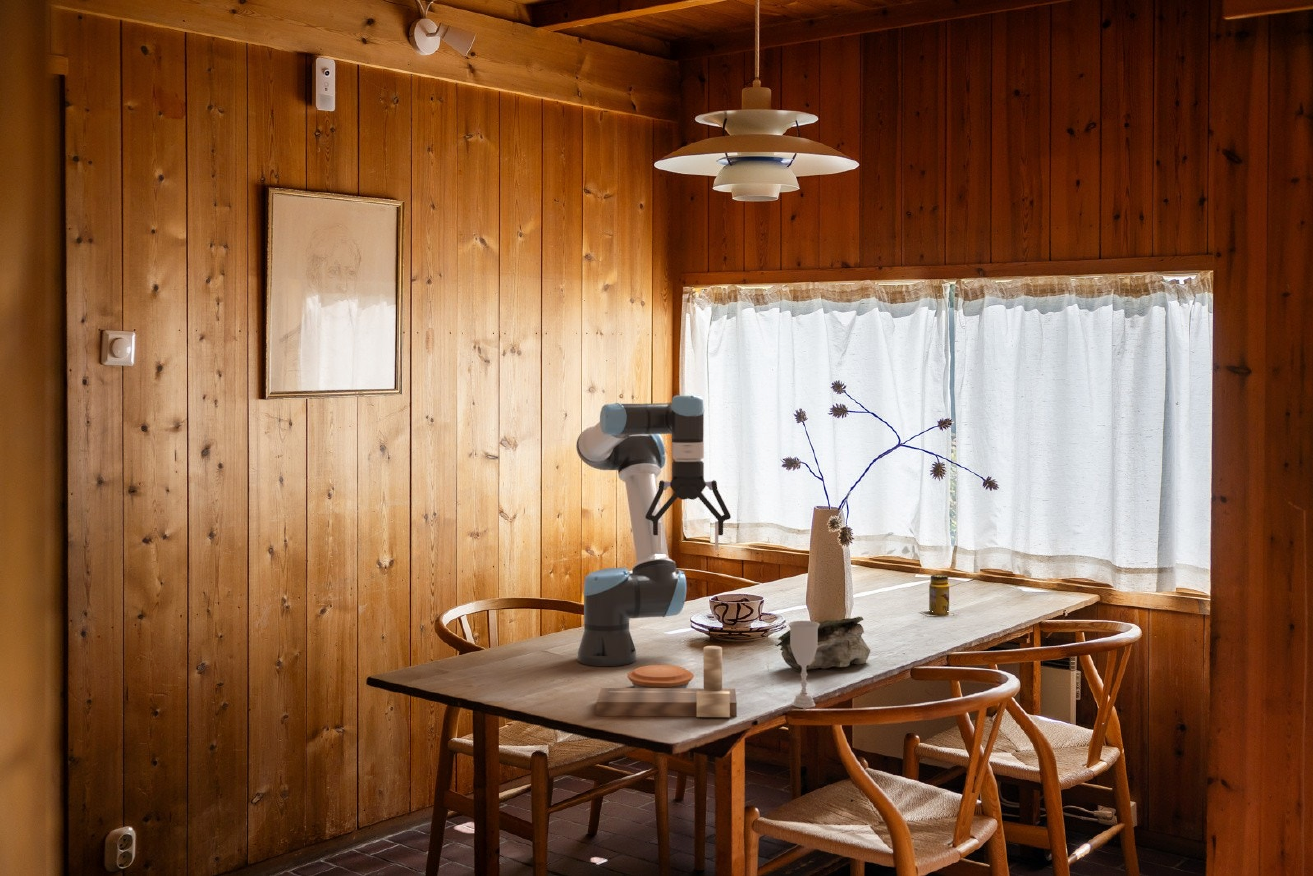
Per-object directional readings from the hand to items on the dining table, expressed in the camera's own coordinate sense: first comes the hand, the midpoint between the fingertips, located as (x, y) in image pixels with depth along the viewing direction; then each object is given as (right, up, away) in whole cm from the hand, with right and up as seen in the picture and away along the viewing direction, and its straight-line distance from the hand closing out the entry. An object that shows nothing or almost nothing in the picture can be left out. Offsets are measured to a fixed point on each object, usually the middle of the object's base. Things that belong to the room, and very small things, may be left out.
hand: (688, 549), depth 287 cm
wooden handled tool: (+5, -32, -27) cm, 42 cm away
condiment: (+79, -28, +86) cm, 120 cm away
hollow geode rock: (+34, -31, +15) cm, 49 cm away
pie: (-7, -32, -7) cm, 34 cm away
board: (-5, -33, -24) cm, 41 cm away
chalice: (+25, -33, -21) cm, 46 cm away
